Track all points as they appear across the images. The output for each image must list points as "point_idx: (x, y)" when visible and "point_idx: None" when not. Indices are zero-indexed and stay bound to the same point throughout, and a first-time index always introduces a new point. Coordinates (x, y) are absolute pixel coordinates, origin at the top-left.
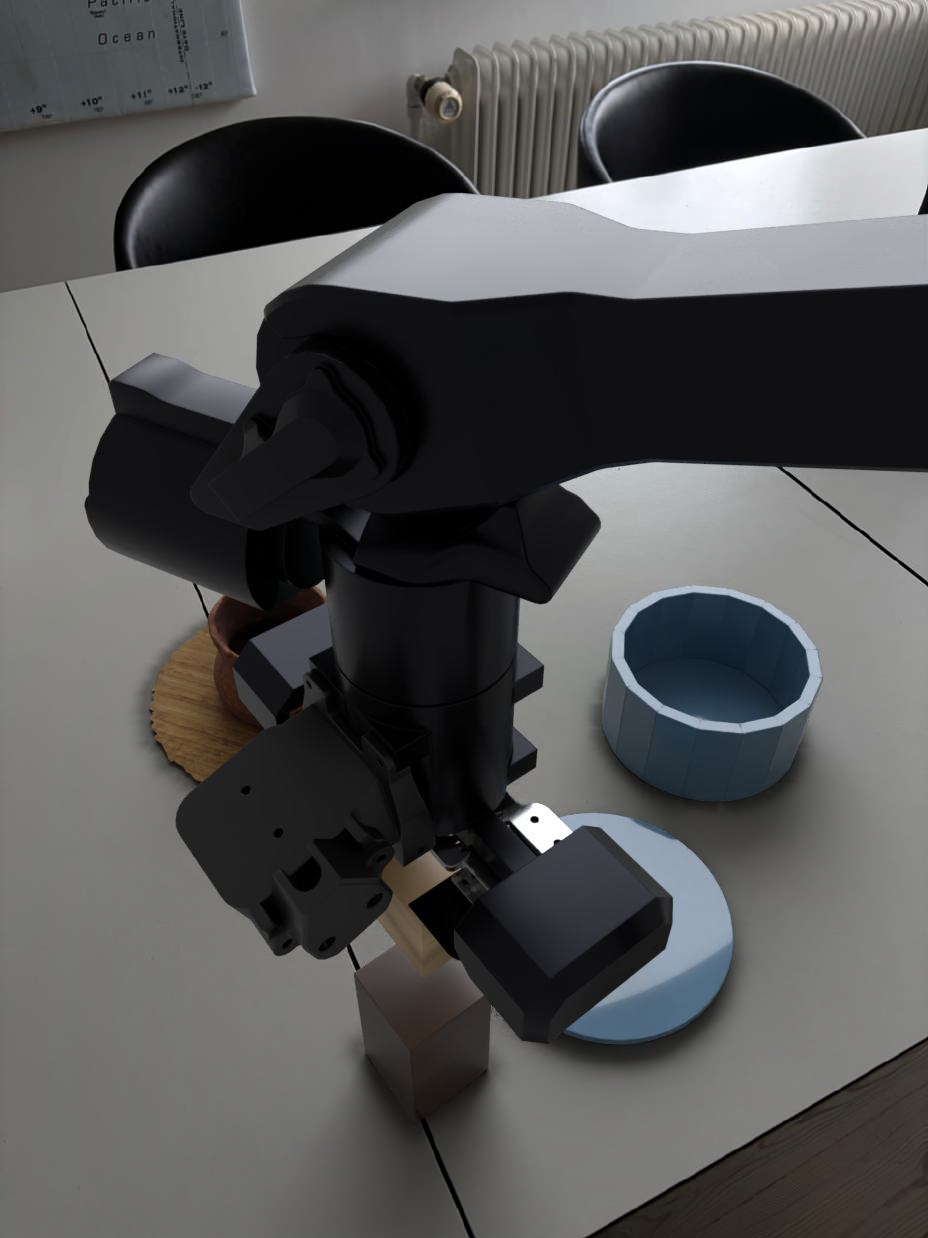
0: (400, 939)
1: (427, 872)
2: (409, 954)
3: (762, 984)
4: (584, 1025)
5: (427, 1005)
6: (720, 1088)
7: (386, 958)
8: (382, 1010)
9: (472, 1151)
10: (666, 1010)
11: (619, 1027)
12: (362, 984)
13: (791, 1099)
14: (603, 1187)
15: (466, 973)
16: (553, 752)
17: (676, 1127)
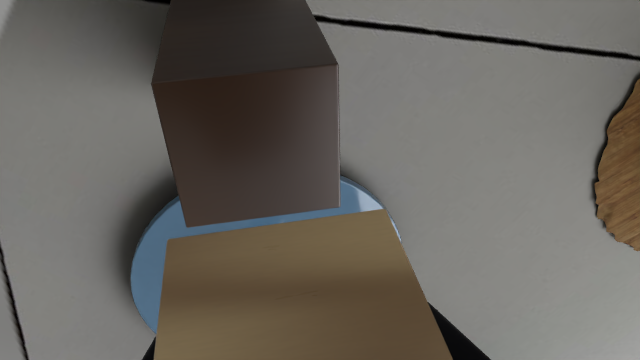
0: (258, 260)
1: None
2: (219, 254)
3: (143, 342)
4: (176, 215)
5: (214, 142)
6: (66, 274)
7: (327, 122)
8: (245, 76)
9: (110, 35)
10: (151, 282)
11: (156, 241)
12: (310, 67)
13: (31, 314)
14: (11, 140)
15: (232, 210)
16: (457, 309)
17: (45, 227)
